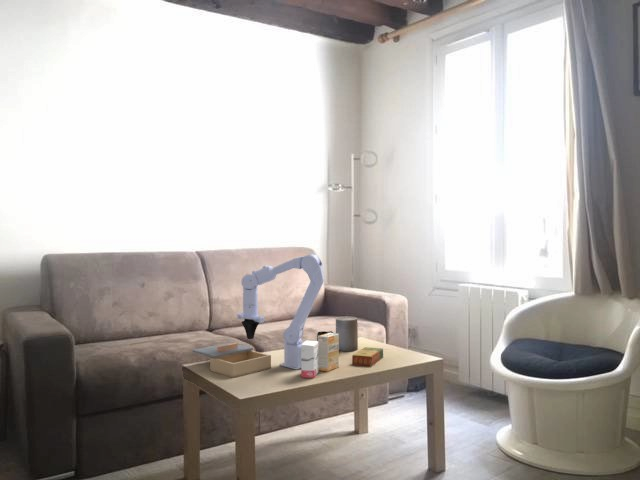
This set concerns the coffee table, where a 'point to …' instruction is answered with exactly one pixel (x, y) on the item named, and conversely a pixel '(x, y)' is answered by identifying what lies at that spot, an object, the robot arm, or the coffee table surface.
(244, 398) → the coffee table surface
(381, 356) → the carton
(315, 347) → the ink box
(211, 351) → the lid
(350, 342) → the pillar candle
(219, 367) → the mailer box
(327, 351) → the supplement box
